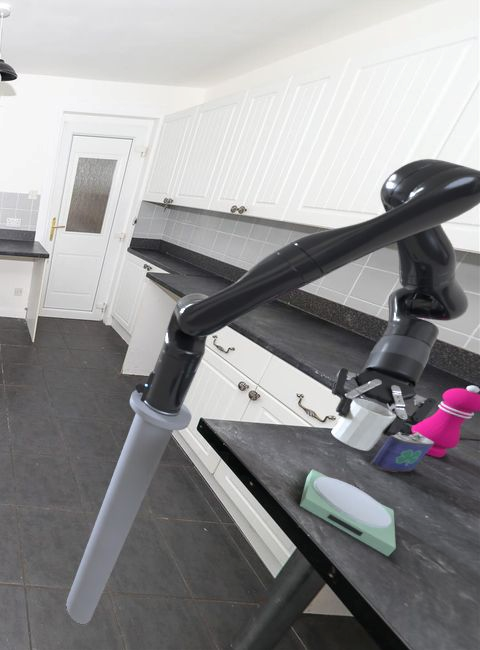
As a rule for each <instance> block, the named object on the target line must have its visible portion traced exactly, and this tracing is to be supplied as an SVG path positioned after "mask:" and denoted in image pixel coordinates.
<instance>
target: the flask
mask: <svg viewBox="0 0 480 650" xmlns="http://www.w3.org/2000/svg"><path fill="white" fill-rule="evenodd" d="M414 432H415V431H414ZM415 433H416V434H413V433H412V434H409V435H402V433H397V434H395V435H390V436H388V438H387V439H386V441H385V443H383V445H382V446H381V448H380V449H379V450H378V452H377V454H376V455H375V456H374V457H373V459H372V460H371V461H370V465H372V466H373V467H375V468H376V469H380V470H381V471H382V470H383V471H387V472H392V473H393V472H394V473H399V472H400V473H410V472H412V471H413V470H414V469H415V467H416V466H417V465H418V464H419V463H420V461H421V460H422V459H423V458H424V456H425V455H427V454H426V453H427V451H428V450H429V449H430V448H431V447H432V446H433V445H434V442H433V441H431V440H429V439H428V438H426V437H424V436H422V435H421V434H419V433H418V432H415Z"/></svg>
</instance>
